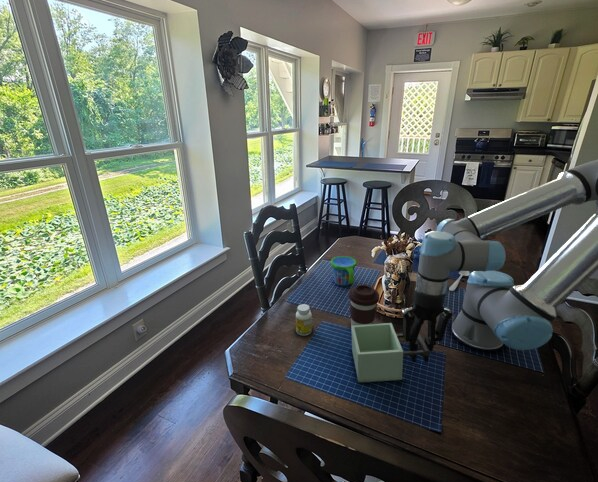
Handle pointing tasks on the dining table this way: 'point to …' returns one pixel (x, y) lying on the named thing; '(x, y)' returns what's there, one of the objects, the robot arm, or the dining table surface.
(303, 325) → the supplement bottle
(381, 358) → the pale green square box
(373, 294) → the coffee cup
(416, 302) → the robot arm
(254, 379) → the dining table surface
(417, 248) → the grapes
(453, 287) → the spoon
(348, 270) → the snack cup
